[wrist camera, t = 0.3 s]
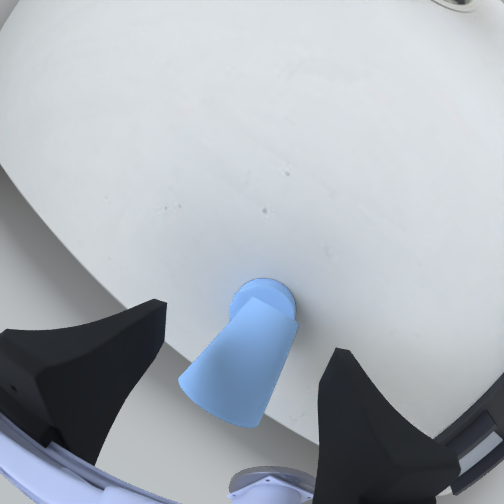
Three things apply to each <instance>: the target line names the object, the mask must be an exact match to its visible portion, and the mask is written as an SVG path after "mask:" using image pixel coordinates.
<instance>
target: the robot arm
mask: <svg viewBox="0 0 504 504" xmlns="http://www.w3.org/2000/svg"><path fill="white" fill-rule="evenodd" d="M166 310H167V303H166V302H163V301H160V300H157V299H152V300H149V301H147V302H144V303H142V304H140V305H137V306H135V307H133V308H130V309H128V310H125V311H123V312H120V313H118V314H116V315H112V316H110V317H107V318H104V319H101V320H98V321H95V322H91V323H88V324H83V325H79V326H74V327H68V328H61V329H53V330H13V329H6V330H4V331H3V332H2V333H0V473H1V474H2V475H3V476H4V477H5V478H7V479H8V480H9V481H10V482H11V483H12V484H13V485H14V486H16V487H17V488H18V489H19V490H20V491H21V492H23V493H24V494H25V495H26V496H28V497H29V498H30V499H31V500H33V501H34V502H35V503H37V504H181V503H178V502H175V501H172V500H169V499H166V498H163V497H160V496H158V495H155V494H152V493H150V492H148V491H145V490H143V489H140V488H138V487H136V486H133V485H131V484H129V483H126V482H124V481H122V480H120V479H118V478H116V477H114V476H112V475H109V474H107V473H106V472H104V471H102V470H100V469H98V468H96V467H94V466H95V463H96V461H97V458H98V456H99V453H100V451H101V448H102V446H103V444H104V442H105V439H106V437H107V435H108V432H109V430H110V428H111V426H112V424H113V422H114V420H115V418H116V416H117V414H118V413H119V411H120V409H121V407H122V405H123V403H124V402H125V399H126V398H127V397H128V395H129V393H130V392H131V391H132V389H133V388H134V386H135V385H136V384H137V382H138V381H139V380H140V378H141V377H142V376H143V374H144V373H145V372H146V370H147V369H148V367H149V366H150V365H151V363H152V362H153V361H154V359H155V357H156V355H157V354H158V352H159V350H160V348H161V346H162V344H163V342H164V339H165V324H166ZM318 424H319V460H318V470H317V477H316V484H315V490H314V493H312V492H310V491H307V490H305V489H302V488H300V487H298V486H295V485H293V484H291V483H288V482H286V481H284V480H282V479H279V478H277V477H275V476H273V475H269V476H267V477H265V478H263V479H261V480H259V481H256V482H254V483H252V484H250V485H248V486H246V487H244V488H241V489H239V490H237V491H234V492H232V493H230V494H228V495H227V497H228V498H229V499H232V501H231V504H301V503H303V502H305V501H307V500H309V499H312V498H313V500H312V504H436V498H435V496H436V495H438V494H439V493H441V492H442V491H443V490H445V489H446V488H447V487H448V486H450V485H451V484H452V483H453V482H454V481H455V480H456V479H457V478H458V477H459V475H460V473H461V466H460V463H459V460H458V457H457V454H456V452H455V451H453V450H451V449H449V448H447V447H445V446H443V445H441V444H439V443H438V442H436V441H434V440H433V439H431V438H430V437H428V436H427V435H425V434H424V433H422V432H421V431H420V430H418V429H417V428H416V427H414V426H413V425H412V424H411V423H410V422H408V421H407V420H406V419H405V418H404V417H403V416H402V415H401V414H399V413H398V411H397V410H396V409H395V408H394V407H393V406H392V405H391V404H390V403H389V402H388V401H387V400H386V399H385V398H384V396H383V395H382V394H381V393H380V392H379V390H378V389H377V388H376V386H375V385H374V384H373V383H372V381H371V380H370V378H369V377H368V376H367V374H366V373H365V371H364V370H363V369H362V367H361V366H360V364H359V363H358V361H357V360H356V359H355V357H354V356H353V354H352V353H351V352H350V350H346V349H341V348H335V351H334V353H333V355H332V357H331V359H330V361H329V363H328V365H327V367H326V370H325V372H324V374H323V376H322V378H321V380H320V382H319V390H318Z"/></svg>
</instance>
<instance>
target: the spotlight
mask: <svg viewBox="0 0 504 504" xmlns="http://www.w3.org/2000/svg"><path fill="white" fill-rule="evenodd" d="M295 312H296V305H295V300H294V297H293V295H292V294H291V292H290V291H289V289H288V288H287V287H286V286H284V285H283V284H281V283H280V282H278V281H276V280H272V279H267V278H260V279H255V280H252V281H249V282H248V283H246V284H245V285H243V286H242V287H241V288H240V290H239V291H238V292H237V293H236V294H235V295H234V299H233V301H232V303H231V305H230V309H229V319H230V322H229V323H228V324H227V325H226V327H225V328H224V329H223V330H222V331H221V332H220V333H219V334H218V335H217V337H216V338H215V339H214V340H213V341H212V342H211V343H210V344H209V345H208V347H207V348H206V349H205V350H204V351H203V352H202V353H201V354H200V355H199V356H198V358H197V359H196V360H195V361H194V362H193V363H192V364H191V365H190V366H189V367H188V369H187V370H186V371H185V372H184V373H183V374H182V375H181V376H180V377H179V380H178V381H179V385H180V387H181V388H182V390H183V391H184V392H185V393H186V395H187V396H189V398H190V399H191V400H193V401H194V402H195V403H196V404H197V405H199V406H200V407H201V408H203V409H204V410H206V411H207V412H209V413H210V414H212V415H214V416H216V417H218V418H219V419H221V420H224V421H226V422H228V423H231V424H234V425H237V426H240V427H247V428H254V427H257V426H258V424H259V423H260V420H261V418H262V416H263V414H264V411H265V409H266V407H267V404H268V402H269V400H270V397H271V395H272V393H273V390H274V388H275V385H276V383H277V380H278V378H279V376H280V373H281V371H282V368H283V366H284V363H285V361H286V358H287V355H288V353H289V350H290V348H291V345H292V342H293V340H294V337H295V334H296V332H297V329H298V326H299V323H298V322H296V321H295Z"/></svg>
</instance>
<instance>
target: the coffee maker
mask: <svg viewBox="0 0 504 504" xmlns="http://www.w3.org/2000/svg"><path fill="white" fill-rule="evenodd" d="M434 441H436V442H438V443H439V444H441V445H443V446H445V447H447V448H449V449H451V450H453V451H455V452H456V454H457V457H458V460H459V463H460V466H461V473H460V475H459V477H458V478H457V479H456V480H455V481H454V482H453V483H452V484H451V485H450V487H451V490H452V492H453V495H458V494H459V493H461V492H462V491H464V490H466V489H467V488H468V487H470V486H471V485H473V484H474V483H475V482H477V481H478V480H479V479H481V478H482V477H483V476H485V475H486V474H487V473H488V472H490V471H491V470H492V469H493V468H494V467H496V466H497V465H498V464H499V463H500V462H502V461H503V460H504V373H503V374H502V376H501V377H500V378H499V379H498V380H497V381H496V382H495V383H494V384H493V386H492V387H491V388H490V389H489V390H488V391H487V392H486V393H485V394H484V395H483V396H482V397H481V398H480V399H479V400H478V401H477V402H476V403H475V404H474V405H473V406H472V407H471V408H470V409H469V410H468V411H466V412H465V413H464V414H463V415H462V416H461V417H460V418H459V419H458V420H457V421H455V422H454V423H453V424H452V425H451V426H450V427H448V428H447V429H446V430H445V431H444V432H442V433H441V434H440V435H439V436H437V437H436V438H435V439H434Z"/></svg>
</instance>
